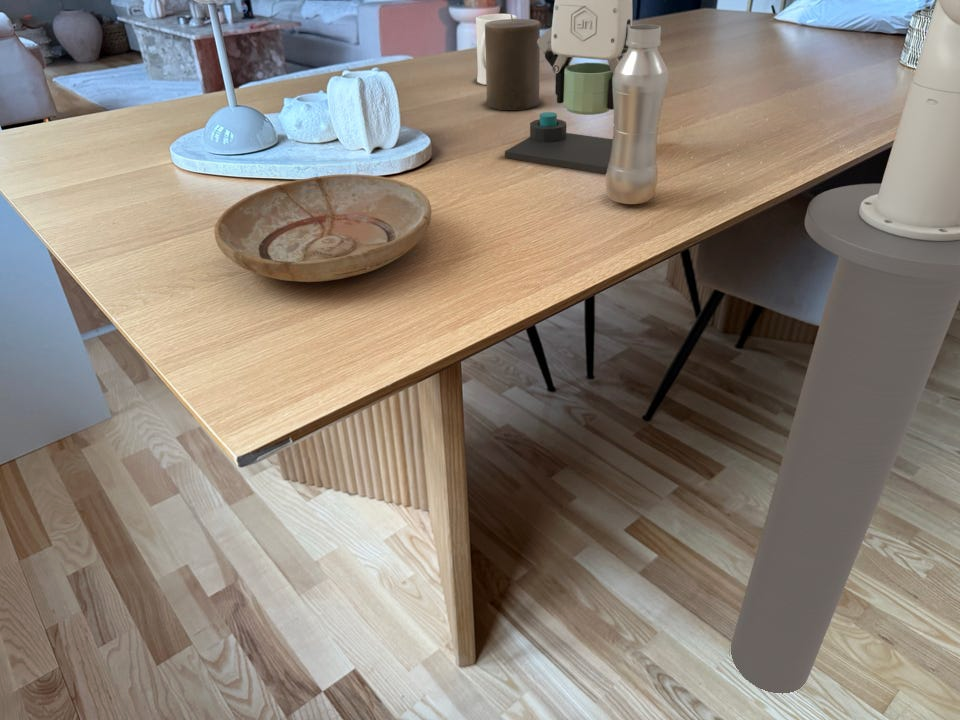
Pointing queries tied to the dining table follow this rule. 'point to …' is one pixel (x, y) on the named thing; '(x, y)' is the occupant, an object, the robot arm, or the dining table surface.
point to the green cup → (587, 88)
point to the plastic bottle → (636, 117)
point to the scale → (563, 148)
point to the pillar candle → (512, 63)
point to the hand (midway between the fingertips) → (588, 103)
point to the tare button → (548, 119)
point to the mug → (481, 42)
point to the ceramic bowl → (324, 227)
